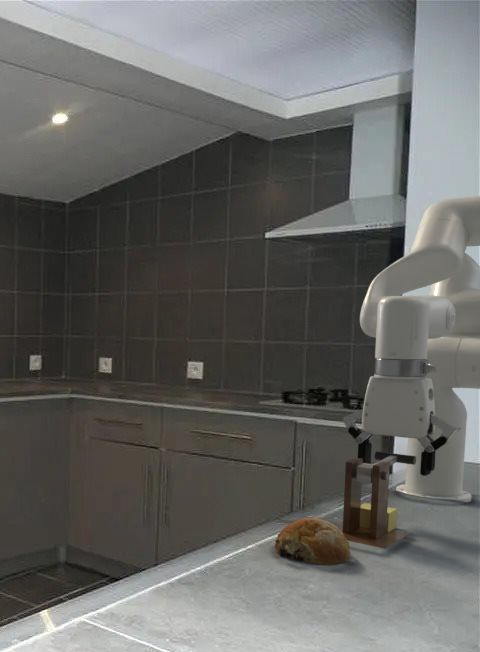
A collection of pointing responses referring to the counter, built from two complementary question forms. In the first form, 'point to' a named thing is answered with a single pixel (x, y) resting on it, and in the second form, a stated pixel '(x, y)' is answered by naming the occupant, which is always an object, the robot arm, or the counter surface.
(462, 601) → the counter surface
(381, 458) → the arm
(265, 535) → the counter surface
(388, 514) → the butter
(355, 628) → the counter surface
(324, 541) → the bread roll
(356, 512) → the cutter
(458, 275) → the robot arm
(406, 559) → the counter surface
